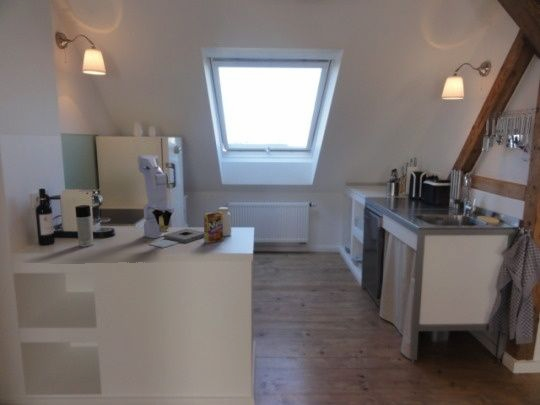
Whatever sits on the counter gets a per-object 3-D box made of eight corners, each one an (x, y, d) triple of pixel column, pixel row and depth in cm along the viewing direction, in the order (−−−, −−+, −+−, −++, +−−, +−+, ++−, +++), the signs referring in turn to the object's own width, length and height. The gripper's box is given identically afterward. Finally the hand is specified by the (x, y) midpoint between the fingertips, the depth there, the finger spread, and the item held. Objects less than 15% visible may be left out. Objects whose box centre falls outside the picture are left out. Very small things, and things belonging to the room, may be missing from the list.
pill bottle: (219, 237, 203) (219, 209, 200) (214, 233, 210) (213, 207, 207) (233, 235, 206) (233, 208, 204) (228, 232, 213) (227, 206, 211)
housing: (164, 238, 201) (163, 235, 201) (186, 232, 214) (185, 228, 214) (185, 243, 192) (185, 239, 192) (207, 236, 205) (207, 232, 205)
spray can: (96, 244, 192) (93, 205, 189) (86, 247, 186) (82, 207, 182) (86, 242, 194) (82, 204, 191) (75, 246, 188) (71, 206, 184)
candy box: (207, 243, 191) (206, 214, 188) (204, 241, 194) (202, 212, 192) (223, 241, 196) (222, 212, 193) (219, 239, 199) (218, 210, 197)
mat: (149, 245, 189) (149, 244, 189) (165, 240, 198) (165, 239, 198) (163, 248, 184) (163, 247, 184) (178, 243, 192) (178, 242, 192)
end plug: (157, 231, 189) (156, 216, 188) (164, 230, 193) (163, 214, 192) (163, 233, 187) (162, 217, 186) (170, 231, 191) (169, 215, 189)
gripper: (145, 198, 187) (147, 224, 190) (165, 200, 179) (167, 228, 182) (156, 196, 193) (158, 222, 196) (176, 198, 185) (177, 225, 188)
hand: (163, 225), depth 189 cm, fingers closed on end plug, 4 cm apart
